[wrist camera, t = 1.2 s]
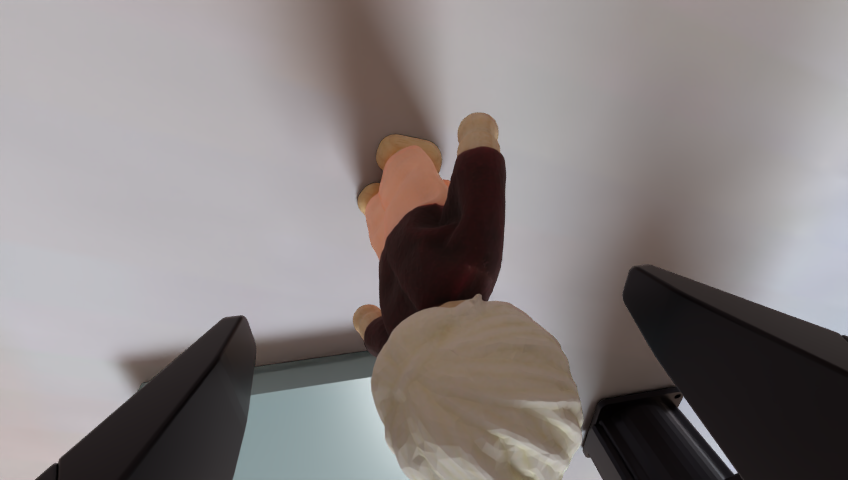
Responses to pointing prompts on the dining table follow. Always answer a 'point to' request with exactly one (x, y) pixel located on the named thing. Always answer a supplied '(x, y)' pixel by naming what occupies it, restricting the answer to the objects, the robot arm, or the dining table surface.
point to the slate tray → (315, 423)
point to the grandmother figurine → (458, 323)
